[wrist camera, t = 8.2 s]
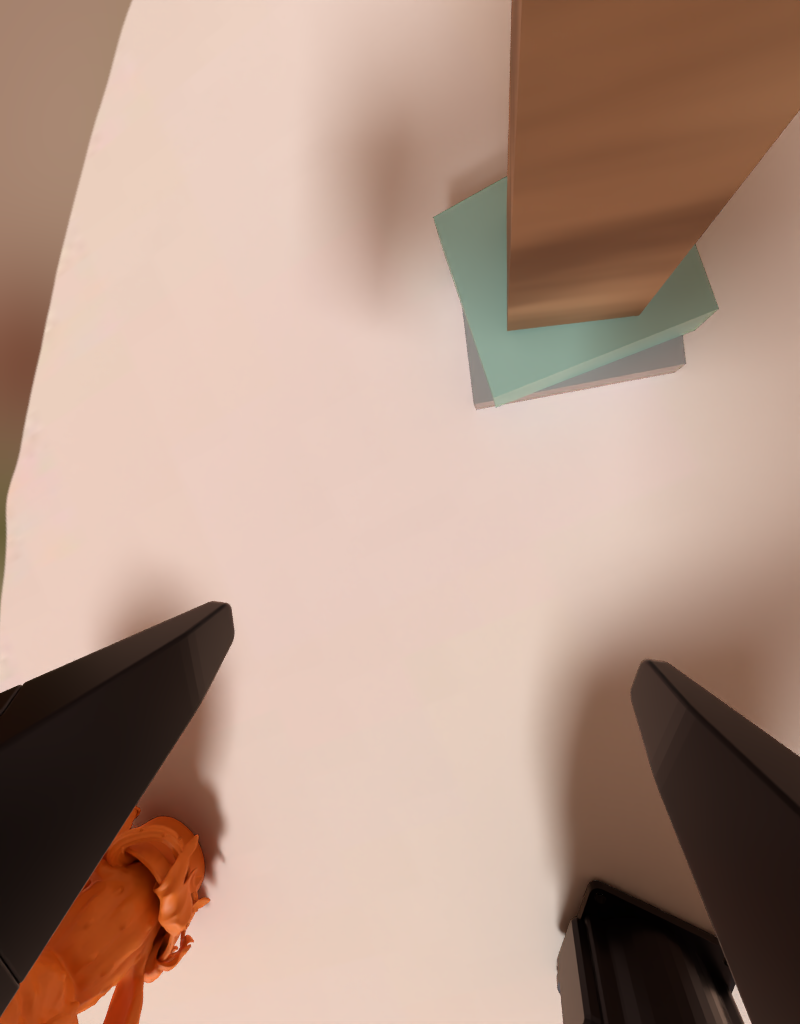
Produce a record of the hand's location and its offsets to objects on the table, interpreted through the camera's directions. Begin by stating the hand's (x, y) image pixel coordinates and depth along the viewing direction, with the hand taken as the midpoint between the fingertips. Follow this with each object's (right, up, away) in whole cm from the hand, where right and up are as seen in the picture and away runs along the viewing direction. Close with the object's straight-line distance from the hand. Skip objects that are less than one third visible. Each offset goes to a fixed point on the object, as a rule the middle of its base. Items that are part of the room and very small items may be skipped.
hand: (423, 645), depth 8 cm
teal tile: (+7, +13, +9) cm, 18 cm away
